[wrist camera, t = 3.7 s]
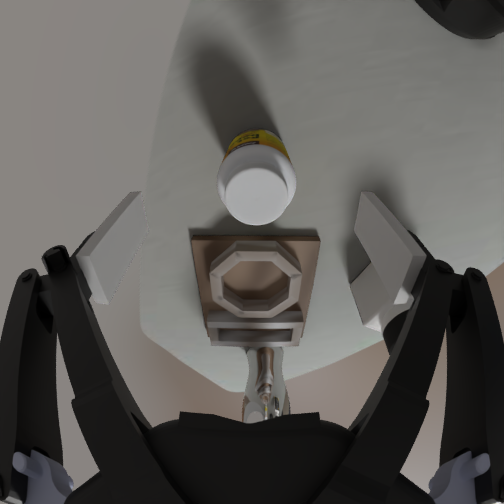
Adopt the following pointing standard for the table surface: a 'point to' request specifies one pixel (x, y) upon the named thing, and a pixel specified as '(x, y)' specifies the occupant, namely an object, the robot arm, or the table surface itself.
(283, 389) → the beer glass
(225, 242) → the socket board
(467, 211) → the table surface
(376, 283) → the medicine bottle
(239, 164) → the supplement bottle
